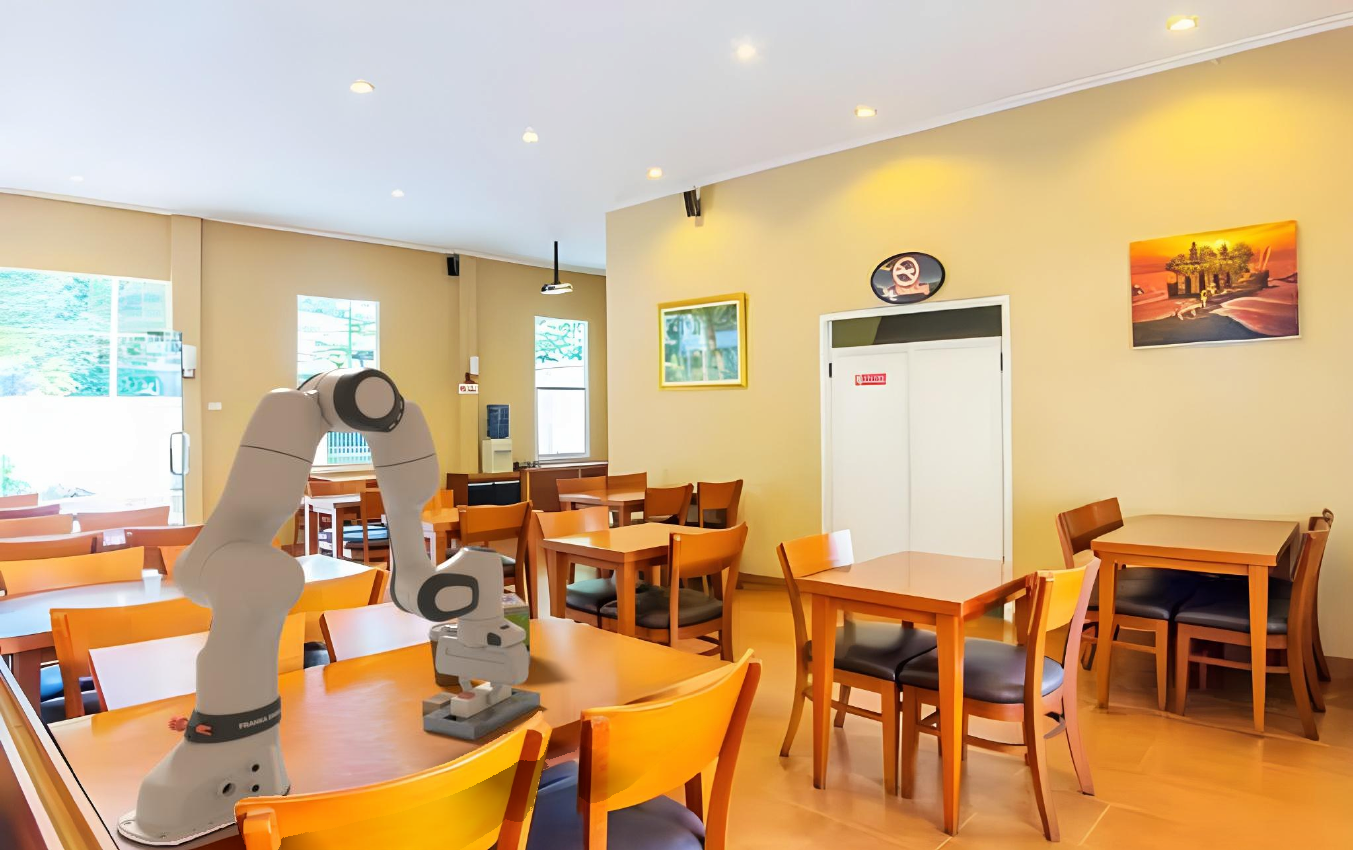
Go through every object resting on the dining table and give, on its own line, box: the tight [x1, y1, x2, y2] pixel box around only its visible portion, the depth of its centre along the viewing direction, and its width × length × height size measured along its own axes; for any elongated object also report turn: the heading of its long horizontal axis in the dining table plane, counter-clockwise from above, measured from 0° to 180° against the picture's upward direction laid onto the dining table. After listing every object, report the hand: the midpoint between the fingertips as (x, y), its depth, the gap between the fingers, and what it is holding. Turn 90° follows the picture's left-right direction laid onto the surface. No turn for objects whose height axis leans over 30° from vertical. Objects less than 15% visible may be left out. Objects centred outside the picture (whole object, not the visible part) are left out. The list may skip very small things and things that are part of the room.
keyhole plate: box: [422, 687, 541, 742], centre depth 154 cm, size 20×12×2 cm, turn 154°
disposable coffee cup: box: [427, 621, 460, 686], centre depth 176 cm, size 10×10×12 cm
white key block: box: [451, 681, 512, 722], centre depth 153 cm, size 13×4×6 cm, turn 154°
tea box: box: [502, 592, 531, 667], centre depth 191 cm, size 15×10×15 cm, turn 25°
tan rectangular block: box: [421, 691, 458, 717], centre depth 156 cm, size 6×4×3 cm
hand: (480, 701), depth 153 cm, fingers closed on white key block, 4 cm apart
